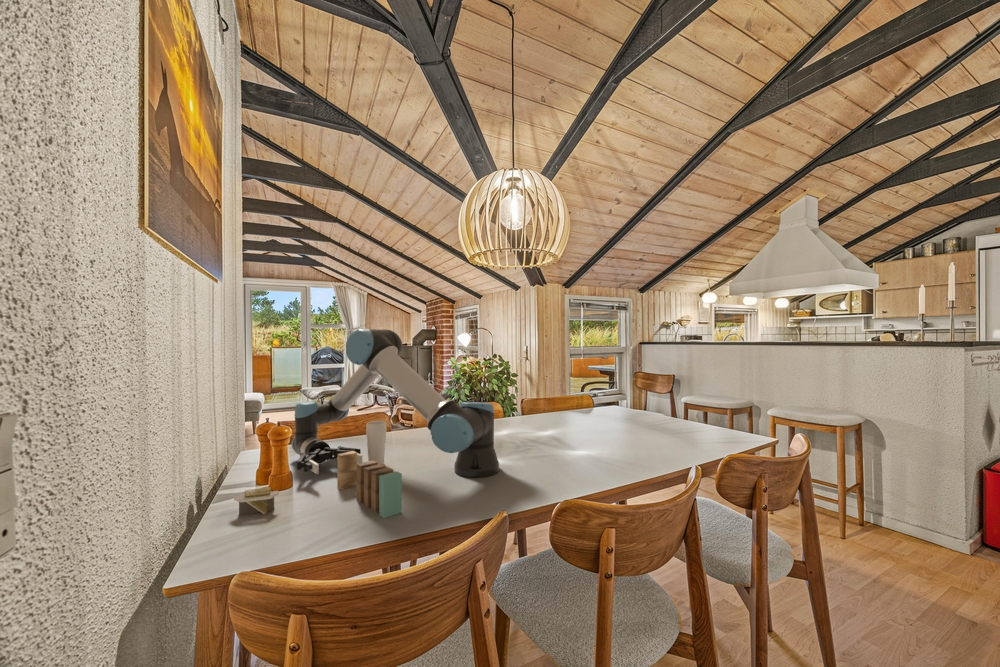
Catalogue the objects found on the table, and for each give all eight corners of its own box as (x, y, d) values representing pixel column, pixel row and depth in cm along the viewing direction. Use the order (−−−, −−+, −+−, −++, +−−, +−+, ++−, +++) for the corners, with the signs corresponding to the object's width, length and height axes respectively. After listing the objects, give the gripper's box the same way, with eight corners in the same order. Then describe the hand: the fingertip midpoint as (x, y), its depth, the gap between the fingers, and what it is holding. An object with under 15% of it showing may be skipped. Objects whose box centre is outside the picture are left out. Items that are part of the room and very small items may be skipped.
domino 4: (388, 504, 109) (388, 467, 110) (393, 507, 108) (393, 469, 108) (371, 510, 106) (371, 471, 106) (375, 512, 104) (375, 473, 104)
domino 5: (396, 509, 106) (397, 471, 106) (401, 512, 105) (401, 473, 105) (379, 515, 103) (379, 475, 103) (383, 518, 101) (383, 478, 101)
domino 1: (353, 483, 125) (353, 450, 126) (356, 485, 124) (356, 452, 124) (337, 487, 122) (337, 454, 122) (340, 489, 120) (340, 455, 120)
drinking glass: (370, 469, 139) (370, 425, 139) (363, 464, 144) (363, 422, 144) (389, 465, 143) (389, 422, 143) (381, 460, 148) (381, 419, 148)
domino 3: (380, 499, 113) (380, 463, 113) (385, 502, 111) (385, 465, 111) (363, 505, 109) (363, 467, 109) (367, 507, 107) (367, 469, 108)
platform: (291, 520, 101) (291, 493, 101) (206, 531, 95) (206, 503, 95) (298, 501, 112) (298, 478, 113) (222, 511, 106) (222, 486, 106)
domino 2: (373, 495, 116) (373, 460, 116) (377, 497, 114) (377, 462, 114) (356, 500, 112) (356, 464, 112) (360, 502, 111) (360, 466, 111)
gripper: (350, 454, 150) (377, 467, 134) (276, 469, 133) (297, 486, 117) (350, 433, 150) (377, 444, 135) (276, 446, 133) (297, 460, 117)
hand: (340, 464), depth 126 cm, fingers open, 13 cm apart
